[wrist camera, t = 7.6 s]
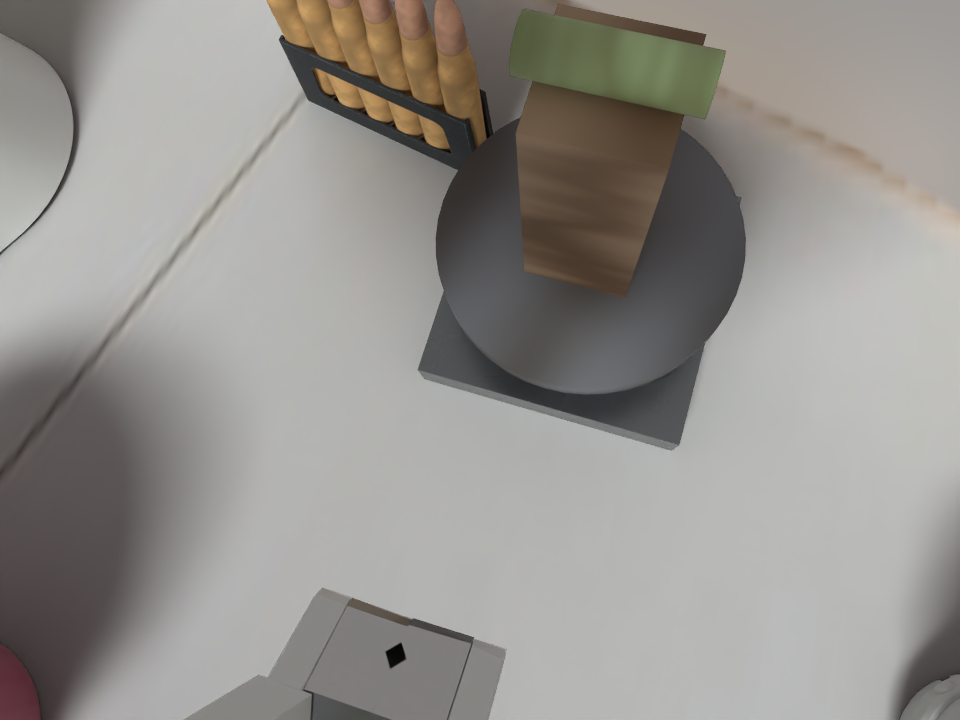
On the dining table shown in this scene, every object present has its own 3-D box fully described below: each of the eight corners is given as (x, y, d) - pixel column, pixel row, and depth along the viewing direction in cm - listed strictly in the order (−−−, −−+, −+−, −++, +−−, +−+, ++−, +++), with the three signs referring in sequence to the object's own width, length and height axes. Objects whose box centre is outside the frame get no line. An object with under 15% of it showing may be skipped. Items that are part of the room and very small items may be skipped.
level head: (401, 347, 30) (300, 206, 17) (488, 91, 32) (455, -193, 20) (698, 432, 28) (824, 342, 15) (766, 154, 30) (922, -115, 18)
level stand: (424, 378, 35) (404, 352, 30) (496, 159, 38) (489, 100, 33) (671, 450, 34) (694, 434, 29) (730, 215, 36) (762, 162, 31)
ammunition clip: (497, 151, 38) (477, -20, 26) (480, 180, 38) (452, 20, 26) (324, 72, 40) (235, -119, 28) (306, 99, 40) (209, -83, 28)
